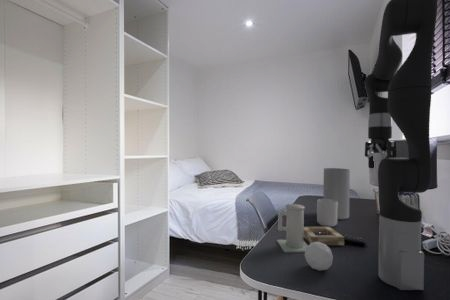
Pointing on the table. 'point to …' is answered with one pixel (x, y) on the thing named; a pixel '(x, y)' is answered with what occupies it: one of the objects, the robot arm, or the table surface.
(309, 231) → the stand
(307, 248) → the geometric ball
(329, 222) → the mug
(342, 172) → the cylinder vase
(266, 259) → the table surface
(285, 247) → the mat
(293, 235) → the jug
